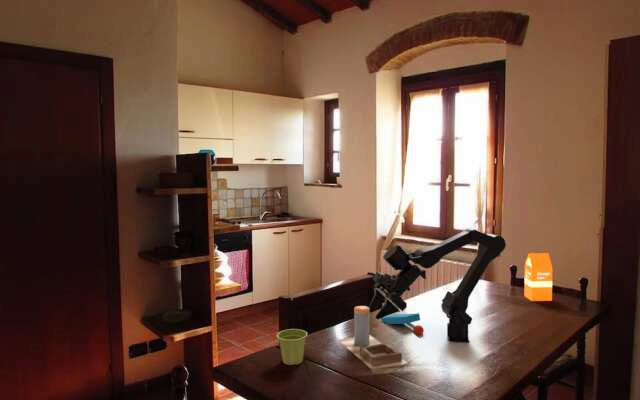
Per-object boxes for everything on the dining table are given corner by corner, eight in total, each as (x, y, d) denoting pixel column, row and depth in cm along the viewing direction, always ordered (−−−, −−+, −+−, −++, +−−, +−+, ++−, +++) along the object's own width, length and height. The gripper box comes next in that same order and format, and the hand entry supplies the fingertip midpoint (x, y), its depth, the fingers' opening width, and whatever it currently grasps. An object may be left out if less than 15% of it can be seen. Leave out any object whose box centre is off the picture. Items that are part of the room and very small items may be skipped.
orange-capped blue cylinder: (367, 340, 162) (367, 305, 161) (371, 346, 157) (371, 310, 156) (352, 341, 161) (352, 306, 161) (356, 347, 157) (356, 310, 156)
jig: (337, 342, 163) (337, 332, 163) (369, 337, 168) (369, 327, 167) (372, 373, 139) (372, 361, 139) (408, 366, 143) (408, 355, 143)
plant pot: (296, 370, 142) (295, 341, 142) (271, 363, 147) (270, 336, 147) (313, 359, 150) (313, 332, 149) (289, 353, 155) (288, 327, 154)
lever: (383, 336, 182) (415, 337, 167) (380, 317, 183) (411, 316, 168) (397, 332, 185) (430, 333, 170) (394, 314, 187) (426, 313, 171)
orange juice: (552, 300, 207) (552, 254, 206) (531, 301, 207) (532, 255, 206) (543, 295, 215) (544, 251, 214) (524, 296, 215) (524, 251, 214)
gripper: (379, 257, 168) (349, 290, 167) (397, 269, 150) (362, 306, 149) (401, 279, 170) (371, 311, 169) (421, 292, 152) (387, 329, 151)
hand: (372, 314), depth 159 cm, fingers open, 9 cm apart
